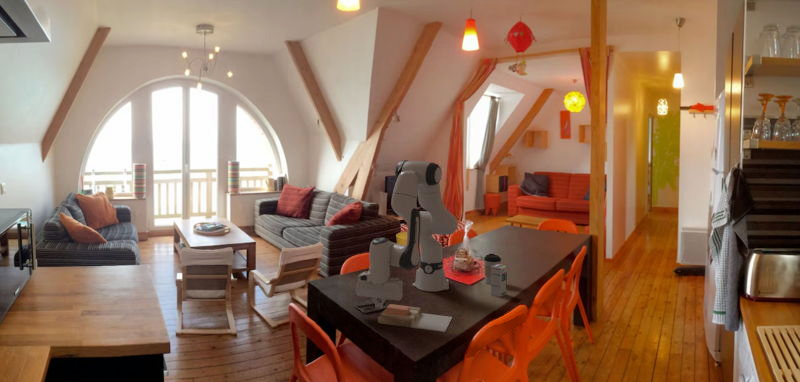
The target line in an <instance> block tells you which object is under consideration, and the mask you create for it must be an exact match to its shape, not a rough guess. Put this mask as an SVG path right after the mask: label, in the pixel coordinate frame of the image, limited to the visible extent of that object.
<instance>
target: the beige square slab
mask: <svg viewBox="0 0 800 382" xmlns="http://www.w3.org/2000/svg"><path fill="white" fill-rule="evenodd" d="M420 313H422V312H421V307H417V306H416V307H413V306H410V311H409V313H408V314H407V315H406V316H402V315H395V314H387V313H385V309H384V310H383V311H382V312H381V313H380V315H378V317H377V323H378V324H383V325H391V326H399V327H404V326H405V328H411V326H412V324H413V323H414V322H415V320H416V319H417V317H418V316H419V314H420Z"/></svg>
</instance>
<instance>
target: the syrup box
mask: <svg viewBox="0 0 800 382" xmlns="http://www.w3.org/2000/svg"><path fill="white" fill-rule="evenodd" d="M507 277H508V266H507V265H505V264H501V263H500V264H497V265H494V266H492V267H491V285H490V295H491V296H495V297H497V298H498V297H499V298H501V297H503V296H506V295H507V286H508V285H507V284H508V283H507V280H508V279H507Z"/></svg>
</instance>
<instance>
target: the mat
mask: <svg viewBox="0 0 800 382" xmlns="http://www.w3.org/2000/svg"><path fill="white" fill-rule="evenodd" d="M452 319H453V316H446V315H439V314H432V313H423V312H421V313H420V314H419V316H418V317H417V319H416V320H415V322H414V323H413V324H412V326H411V327H410V328H412V329H421V330H427V331H434V332H442V333H446V332H447V329H448V327H449V325H450V323H451V321H452Z"/></svg>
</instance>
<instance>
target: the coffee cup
mask: <svg viewBox="0 0 800 382" xmlns="http://www.w3.org/2000/svg"><path fill="white" fill-rule="evenodd" d="M483 261H484V264H483V269H484V270H483V271H484V272H483V273H484V283H485V284H486V285H490V286H491V267H492V266H494V265H497V264H500V265H501V262H502V258H501V257H500V256H499V255H497V254H495V253H488V254H487V255H485V256H484V258H483Z"/></svg>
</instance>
